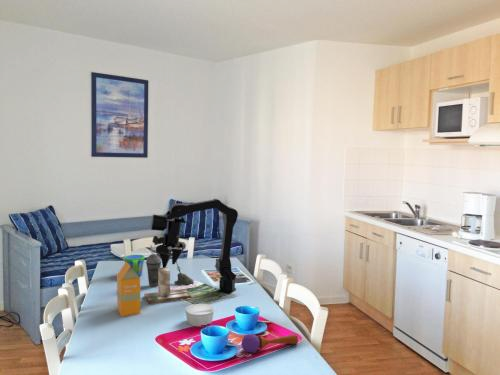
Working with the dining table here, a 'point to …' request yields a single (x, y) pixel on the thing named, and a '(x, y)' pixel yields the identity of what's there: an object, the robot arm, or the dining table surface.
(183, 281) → the sword in stone
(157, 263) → the beverage cup
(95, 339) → the dining table surface
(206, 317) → the ramekin
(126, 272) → the orange juice
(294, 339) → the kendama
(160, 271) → the slider block
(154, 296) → the gauge board
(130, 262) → the snack cup
